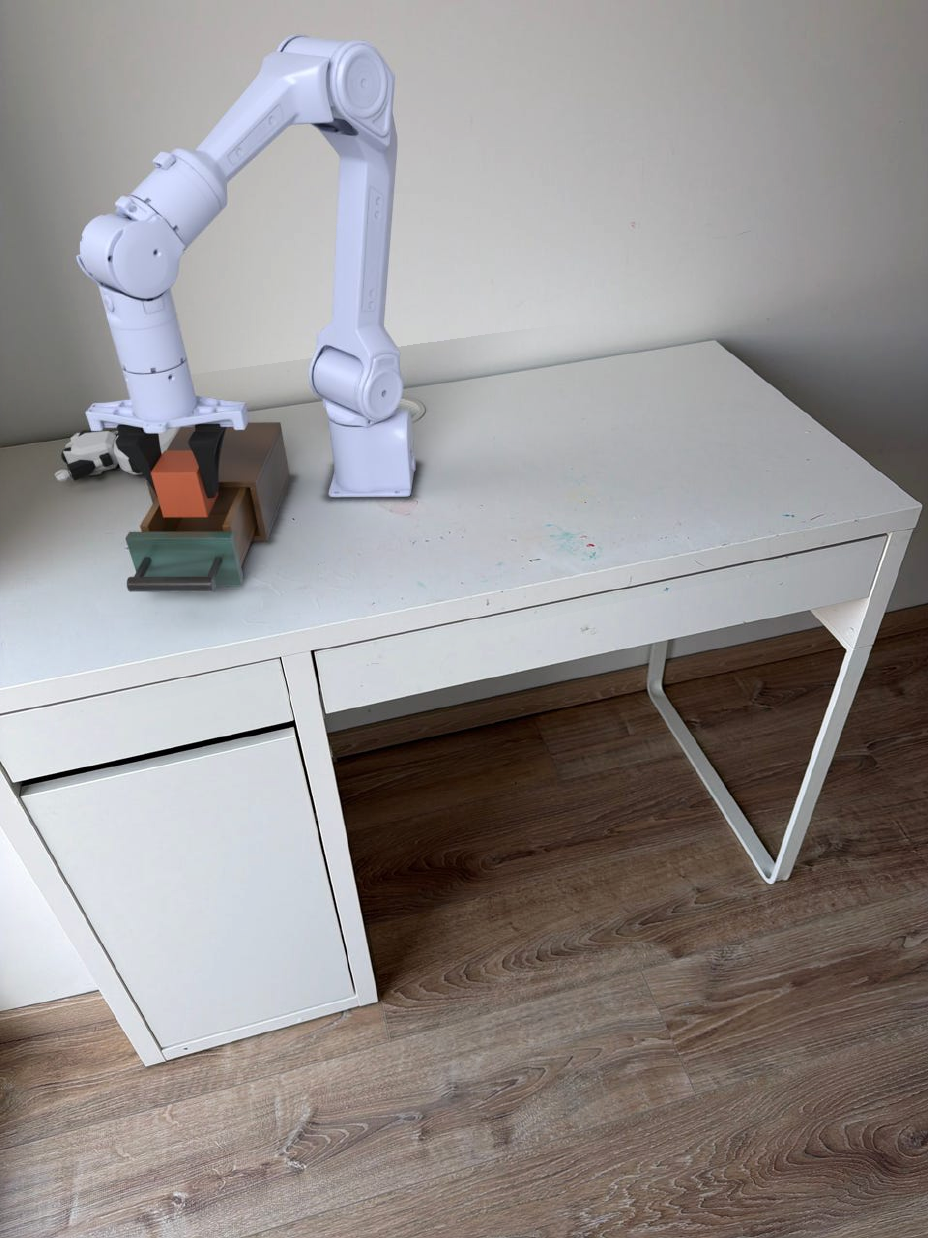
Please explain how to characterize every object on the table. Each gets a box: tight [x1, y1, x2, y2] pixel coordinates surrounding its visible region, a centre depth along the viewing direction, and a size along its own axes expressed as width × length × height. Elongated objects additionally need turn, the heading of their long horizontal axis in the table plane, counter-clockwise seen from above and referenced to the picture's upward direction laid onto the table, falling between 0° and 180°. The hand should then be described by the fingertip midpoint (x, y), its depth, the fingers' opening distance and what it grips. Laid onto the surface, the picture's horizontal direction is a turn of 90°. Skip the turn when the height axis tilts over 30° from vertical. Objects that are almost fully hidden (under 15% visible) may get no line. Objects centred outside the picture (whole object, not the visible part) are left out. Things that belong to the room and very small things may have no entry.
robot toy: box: [54, 427, 180, 482], centre depth 108 cm, size 12×4×15 cm
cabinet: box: [146, 421, 291, 542], centre depth 98 cm, size 13×11×7 cm
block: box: [151, 450, 218, 517], centre depth 86 cm, size 4×4×5 cm
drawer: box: [125, 487, 258, 593], centre depth 89 cm, size 17×10×6 cm, turn 178°
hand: (188, 493), depth 87 cm, fingers closed on block, 4 cm apart
